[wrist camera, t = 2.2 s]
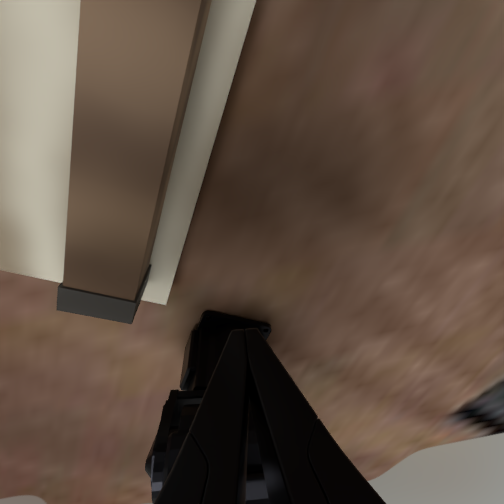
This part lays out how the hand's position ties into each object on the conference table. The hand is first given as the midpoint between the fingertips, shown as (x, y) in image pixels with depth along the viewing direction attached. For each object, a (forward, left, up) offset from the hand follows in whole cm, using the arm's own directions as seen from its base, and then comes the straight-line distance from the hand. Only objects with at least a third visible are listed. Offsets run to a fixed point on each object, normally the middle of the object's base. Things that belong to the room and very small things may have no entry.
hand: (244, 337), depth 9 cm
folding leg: (+6, -3, -9) cm, 12 cm away
